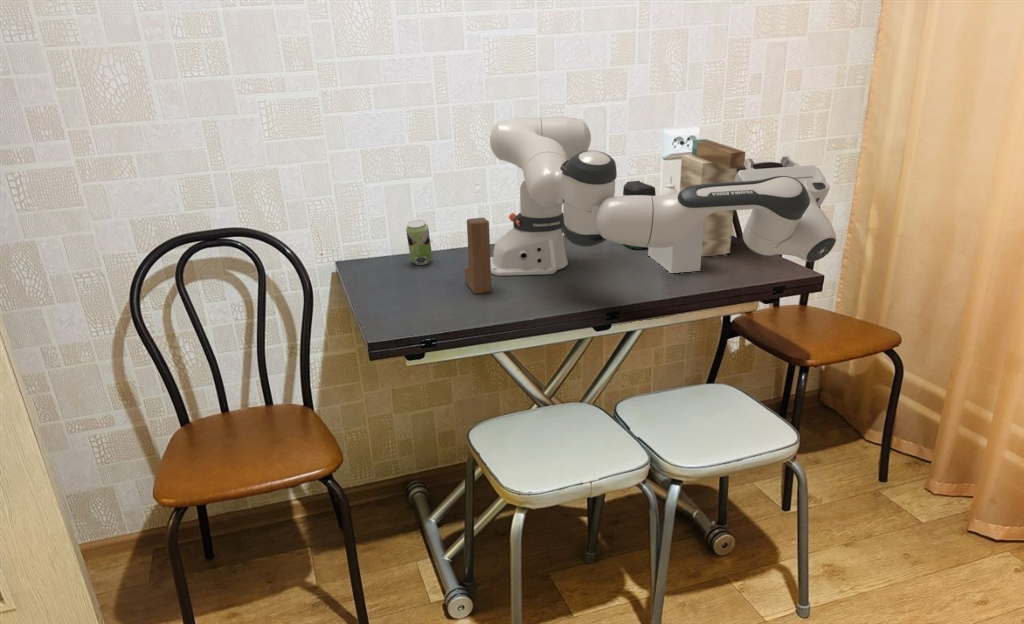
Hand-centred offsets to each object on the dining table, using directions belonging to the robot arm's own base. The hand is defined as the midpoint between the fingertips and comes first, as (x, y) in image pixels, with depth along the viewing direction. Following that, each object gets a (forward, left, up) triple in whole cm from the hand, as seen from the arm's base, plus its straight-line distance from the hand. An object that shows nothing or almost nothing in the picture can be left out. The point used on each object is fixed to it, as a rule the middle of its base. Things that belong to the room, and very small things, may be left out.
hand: (765, 159), depth 175 cm
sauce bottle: (-3, +46, -31) cm, 56 cm away
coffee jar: (-16, +38, -31) cm, 52 cm away
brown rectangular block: (0, +24, -4) cm, 25 cm away
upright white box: (-13, +19, -30) cm, 38 cm away
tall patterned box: (0, +29, -30) cm, 42 cm away
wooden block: (-67, +15, -31) cm, 75 cm away
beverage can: (-79, +39, -31) cm, 93 cm away
